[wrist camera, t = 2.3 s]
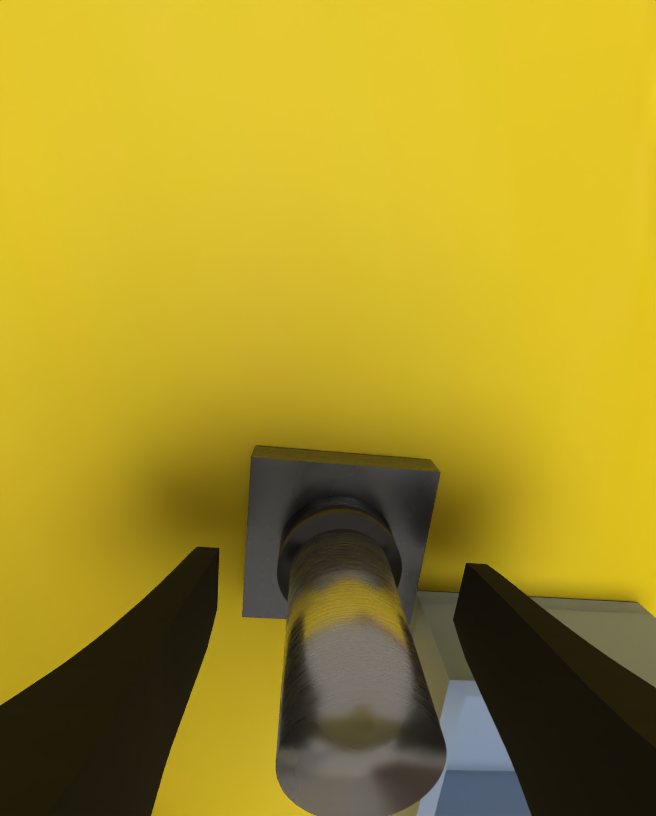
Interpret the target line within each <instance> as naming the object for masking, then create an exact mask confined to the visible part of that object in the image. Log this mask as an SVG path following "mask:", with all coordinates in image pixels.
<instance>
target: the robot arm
mask: <svg viewBox="0 0 656 816" xmlns="http://www.w3.org/2000/svg"><path fill="white" fill-rule="evenodd" d="M218 571H219V548H209V547H196V548H195V549H194V550H193V551H192V552H191V553H190V554H189V555H188V556H187V557H186V558H185V559H184V560H183V561H182V562H181V563H180V564H179V565H178V566H177V567H176V568H175V569H174V570H173V571H172V572H171V573H170V574H169V575H168V576H167V577H166V578H165V579H164V580H163V581H162V582H161V583H160V584H159V585H158V586H157V587H155V588H154V589H153V590H152V591H151V592H150V593H149V594H148V595H147V596H146V597H145V598H144V599H143V600H142V601H140V602H139V603H138V604H137V605H136V606H135V607H134V608H132V609H131V610H130V611H129V612H128V613H127V614H125V615H124V616H123V617H122V618H121V619H120V620H118V621H117V622H116V623H115V624H114V625H113V626H111V627H110V628H109V629H108V630H107V631H105V632H104V633H103V634H102V635H100V636H99V637H98V638H97V639H95V640H94V641H93V642H92V643H90V644H89V645H88V646H86V647H85V648H84V649H82V650H81V651H80V652H78V653H77V654H76V655H74V656H73V657H72V658H70V659H69V660H68V661H66V662H65V663H63V664H62V665H61V666H59V667H58V668H56V669H55V670H53V671H52V672H51V673H49V674H47V675H46V676H44V677H43V678H41V679H40V680H38V681H37V682H35V683H34V684H32V685H31V686H29V687H28V688H26V689H25V690H23V691H22V692H20V693H19V694H17V695H16V696H14V697H13V698H11V699H10V700H8V701H7V702H5V703H4V704H2V705H0V816H151V814H152V810H153V807H154V803H155V800H156V796H157V792H158V789H159V785H160V782H161V778H162V775H163V771H164V768H165V765H166V762H167V759H168V756H169V753H170V750H171V747H172V744H173V741H174V738H175V735H176V733H177V730H178V727H179V724H180V722H181V719H182V716H183V713H184V711H185V708H186V705H187V702H188V700H189V697H190V694H191V691H192V689H193V686H194V683H195V680H196V678H197V675H198V672H199V669H200V667H201V664H202V661H203V658H204V655H205V653H206V650H207V647H208V643H209V639H210V635H211V631H212V627H213V623H214V619H215V615H216V611H217V600H218ZM453 622H454V625H455V628H456V632H457V635H458V638H459V641H460V644H461V647H462V650H463V653H464V656H465V659H466V661H467V664H468V666H469V668H470V671H471V673H472V675H473V677H474V680H475V682H476V684H477V686H478V689H479V691H480V693H481V695H482V697H483V700H484V702H485V704H486V706H487V708H488V711H489V713H490V715H491V717H492V720H493V722H494V724H495V726H496V728H497V731H498V733H499V735H500V737H501V739H502V742H503V744H504V746H505V748H506V751H507V753H508V755H509V758H510V760H511V762H512V765H513V767H514V770H515V772H516V775H517V777H518V780H519V783H520V785H521V788H522V791H523V794H524V796H525V799H526V802H527V805H528V808H529V810H530V813H531V816H656V687H654V686H653V685H651V684H649V683H648V682H646V681H645V680H643V679H642V678H640V677H639V676H637V675H636V674H634V673H632V672H631V671H629V670H628V669H626V668H625V667H623V666H622V665H620V664H619V663H617V662H616V661H614V660H613V659H611V658H610V657H608V656H607V655H605V654H604V653H603V652H601V651H600V650H598V649H597V648H596V647H594V646H593V645H591V644H590V643H589V642H587V641H586V640H585V639H583V638H582V637H580V636H579V635H578V634H576V633H575V632H574V631H572V630H571V629H570V628H568V627H567V626H566V625H564V624H563V623H562V622H560V621H559V620H558V619H556V618H555V617H554V616H552V615H551V614H550V613H549V612H547V611H546V610H545V609H543V608H542V607H541V606H540V605H538V604H537V603H536V602H535V601H533V600H532V599H531V598H530V597H528V596H527V595H526V594H525V593H523V592H522V591H521V590H519V589H518V588H517V587H516V586H514V585H513V584H512V583H511V582H509V581H508V580H507V579H506V578H504V577H503V576H502V575H500V574H499V573H498V572H496V571H495V570H494V569H492V568H491V567H489V566H488V565H487V564H475V563H466V566H465V570H464V575H463V579H462V583H461V587H460V592H459V596H458V600H457V604H456V609H455V613H454V617H453Z"/></svg>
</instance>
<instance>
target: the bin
mask: <svg viewBox="0 0 656 816" xmlns="http://www.w3.org/2000/svg"><path fill="white" fill-rule="evenodd" d="M458 596H459V593H448V592H429V591H417V592H416V597H415V602H414V607H413V612H412V617H411V622H410V625H409V628H410V632H411V635H412V638H413V641H414V644H415V647H416V651H417V654H418V657H419V660H420V663H421V666H422V670H423V673H424V676H425V679H426V682H427V685H428V689H429V692H430V695H431V698H432V701H433V704H434V708H435V711H436V714H437V717H438V720H439V723H440V727H441V730H442V733H443V736H444V739H445V743H446V749H447V758H446V763H445V767H444V770H443V773H442V775H441V776H440V778H439V780H438V782H437V783H436V784H435V786H434V787H433V788H432V789H431V790H430V791H429V792H428V793H427V794H426V795H425V796H424V797H423V798H422V799H420V800H419V801H418V802H416V803H415V804H413V805H412V806H410V807H408V808H406V809H404V810H402V811H400V812H397V813H395V814H393V815H390V816H531V813H530V810H529V808H528V805H527V802H526V799H525V796H524V794H523V791H522V788H521V785H520V783H519V780H518V777H517V775H516V772H515V770H514V767H513V765H512V762H511V760H510V758H509V755H508V753H507V751H506V748H505V746H504V744H503V742H502V739H501V737H500V735H499V733H498V731H497V728H496V726H495V724H494V722H493V720H492V717H491V715H490V713H489V711H488V708H487V706H486V704H485V702H484V700H483V697H482V695H481V693H480V691H479V689H478V686H477V684H476V682H475V680H474V677H473V675H472V673H471V671H470V668H469V666H468V664H467V661H466V659H465V656H464V653H463V650H462V647H461V644H460V641H459V638H458V635H457V632H456V628H455V625H454V622H453V617H454V613H455V609H456V604H457V600H458ZM530 598H531V599H532V600H533V601H535V602H536V603H537V604H538V605H540V606H541V607H542V608H543V609H545V610H546V611H547V612H549V613H550V614H551V615H552V616H554V617H555V618H556V619H558V620H559V621H560V622H562V623H563V624H564V625H566V626H567V627H568V628H570V629H571V630H572V631H574V632H575V633H576V634H578V635H579V636H580V637H582V638H583V639H585V640H586V641H587V642H589V643H590V644H591V645H593V646H594V647H596V648H597V649H598V650H600V651H601V652H603V653H604V654H605V655H607V656H608V657H610V658H611V659H613V660H614V661H616V662H617V663H619V664H620V665H622V666H623V667H625V668H626V669H628V670H629V671H631V672H632V673H634V674H636V675H637V676H639V677H640V678H642V679H643V680H645V681H646V682H648V683H649V684H651V685H653V686H654V687H656V618H655V617H654V616H653V615H652V614H650V613H649V612H648V611H647V610H646V609H645V608H644V607H643V606H641V605H640V604H639V603H636V602H617V601H598V600H580V599H561V598H542V597H530Z"/></svg>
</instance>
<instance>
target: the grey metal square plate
mask: <svg viewBox="0 0 656 816" xmlns="http://www.w3.org/2000/svg"><path fill="white" fill-rule="evenodd" d="M439 477H440V471H439V470H438V469H437V467H436V466H435V465H434V464H433V462H432V461H431V460H426V459H414V458H402V457H389V456H377V455H364V454H352V453H340V452H327V451H315V450H303V449H290V448H278V447H266V446H255V449H254V451H253V454H252V456H251V469H250V487H249V505H248V522H247V540H246V558H245V576H244V593H243V611H242V617H255V618H276V619H287V606H288V602H287V601H286V600H285V598H284V597H283V595H282V593H281V591H280V588H279V585H278V581H277V564H278V556H279V548H280V541H281V536H282V533H283V530H284V528H285V526H286V524H287V523H288V521H289V520H290V519H291V518H292V516H293V515H294V514H295V513H296V512H298V511H299V510H300V509H301V508H303V507H304V506H306V505H307V504H309V503H311V502H313V501H316V500H319V499H322V498H327V497H335V496H344V497H351V498H355V499H359V500H361V501H364V502H366V503H368V504H370V505H371V506H373V507H374V508H375V509H377V510H378V511H379V512H380V513H381V514H382V515H383V516H384V518H385V519H386V521H387V522H388V524H389V526H390V529H391V531H392V534H393V537H394V539H395V542H396V545H397V548H398V550H399V553H400V556H401V561H402V574H401V579H400V583H399V585H398V588H397V590H398V594H399V597H400V600H401V603H402V606H403V609H404V613H405V616H406V619H407V622H408V625H410V622H411V617H412V612H413V607H414V602H415V597H416V592H417V587H418V582H419V577H420V572H421V567H422V562H423V557H424V552H425V547H426V542H427V537H428V532H429V527H430V522H431V517H432V512H433V507H434V502H435V497H436V492H437V487H438V482H439Z"/></svg>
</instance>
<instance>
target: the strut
mask: <svg viewBox="0 0 656 816" xmlns="http://www.w3.org/2000/svg"><path fill="white" fill-rule="evenodd" d="M401 574H402V561H401V556H400V553H399V550H398V548H397V545H396V542H395V539H394V537H393V534H392V531H391V529H390V526H389V524H388V522H387V521H386V519H385V518H384V516H383V515H382V514H381V513H380V512H379V511H378V510H377V509H375V508H374V507H373V506H371V505H370V504H368V503H366V502H364V501H361V500H359V499H355V498H351V497H344V496H335V497H327V498H322V499H319V500H316V501H313V502H311V503H309V504H307V505H306V506H304V507H303V508H301V509H300V510H299V511H298V512H296V513H295V514H294V515H293V516H292V518H291V519H290V520H289V521H288V523H287V524H286V526H285V528H284V530H283V533H282V536H281V541H280V548H279V556H278V564H277V581H278V585H279V588H280V591H281V593H282V595H283V597H284V598H285V600H286V601H287V602H288V606H287V620H286V633H285V646H284V660H283V673H282V686H281V700H280V713H279V726H278V740H277V753H276V774H277V779H278V781H279V784H280V786H281V788H282V790H283V791H284V793H285V794H286V795H287V796H288V798H289V799H290V800H291V801H293V802H294V803H295V804H296V805H297V806H299V807H301V808H302V809H304V810H305V811H307V812H309V813H312V814H314V815H317V816H389V815H393V814H395V813H397V812H400V811H402V810H404V809H406V808H408V807H410V806H412V805H413V804H415V803H416V802H418V801H419V800H420V799H422V798H423V797H424V796H425V795H426V794H427V793H428V792H429V791H430V790H431V789H432V788H433V787H434V786H435V784H436V783H437V782H438V780H439V778H440V776H441V775H442V773H443V770H444V767H445V763H446V758H447V749H446V743H445V739H444V736H443V733H442V730H441V727H440V723H439V720H438V717H437V714H436V711H435V708H434V704H433V701H432V698H431V695H430V692H429V689H428V685H427V682H426V679H425V676H424V673H423V670H422V666H421V663H420V660H419V657H418V654H417V651H416V647H415V644H414V641H413V638H412V635H411V632H410V628H409V625H408V622H407V619H406V616H405V613H404V609H403V606H402V603H401V600H400V597H399V594H398V590H397V588H398V585H399V583H400V579H401Z"/></svg>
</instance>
